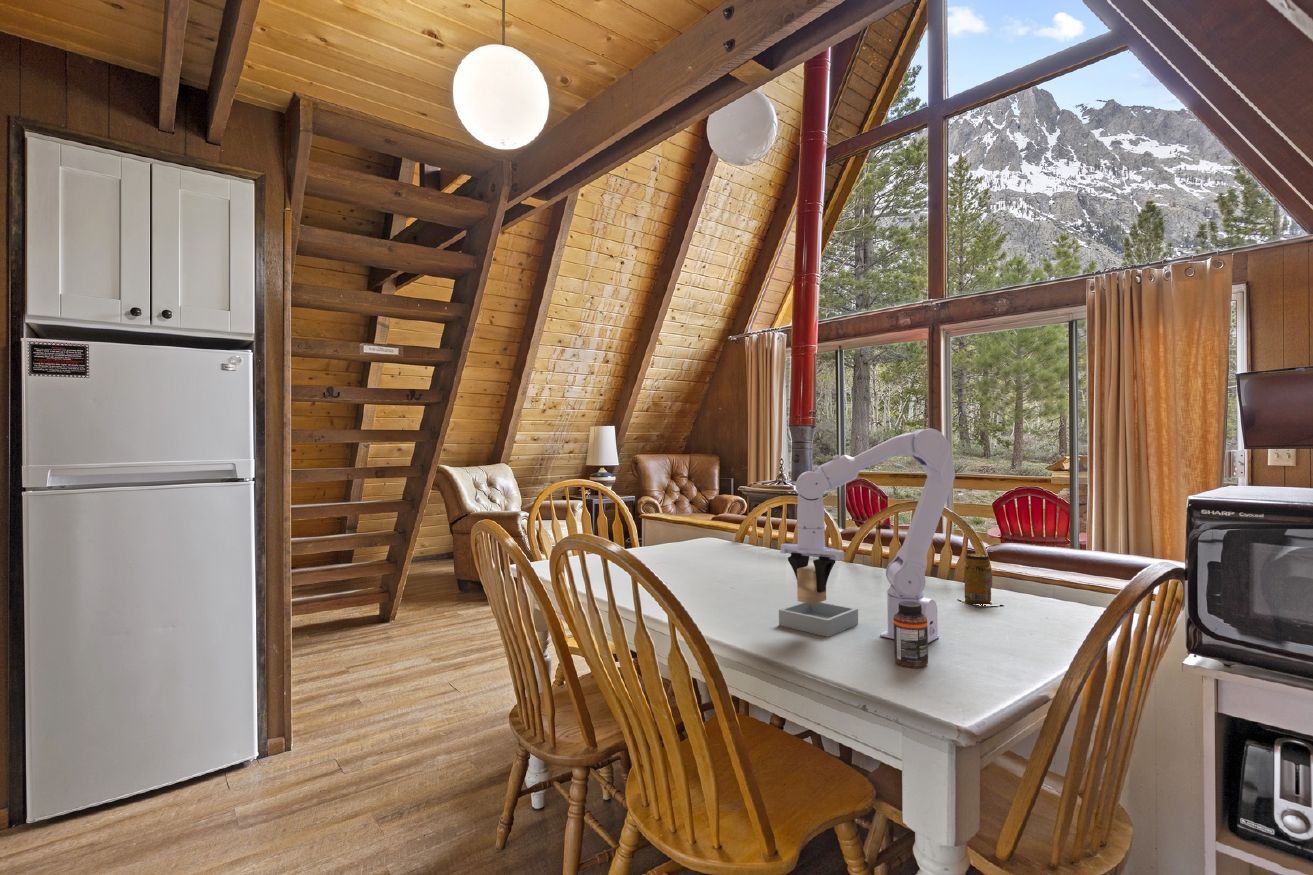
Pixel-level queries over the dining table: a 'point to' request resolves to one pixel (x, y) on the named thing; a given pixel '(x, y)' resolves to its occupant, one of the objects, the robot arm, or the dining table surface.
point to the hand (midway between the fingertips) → (811, 590)
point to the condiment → (977, 580)
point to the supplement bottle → (910, 635)
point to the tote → (818, 618)
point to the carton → (808, 586)
